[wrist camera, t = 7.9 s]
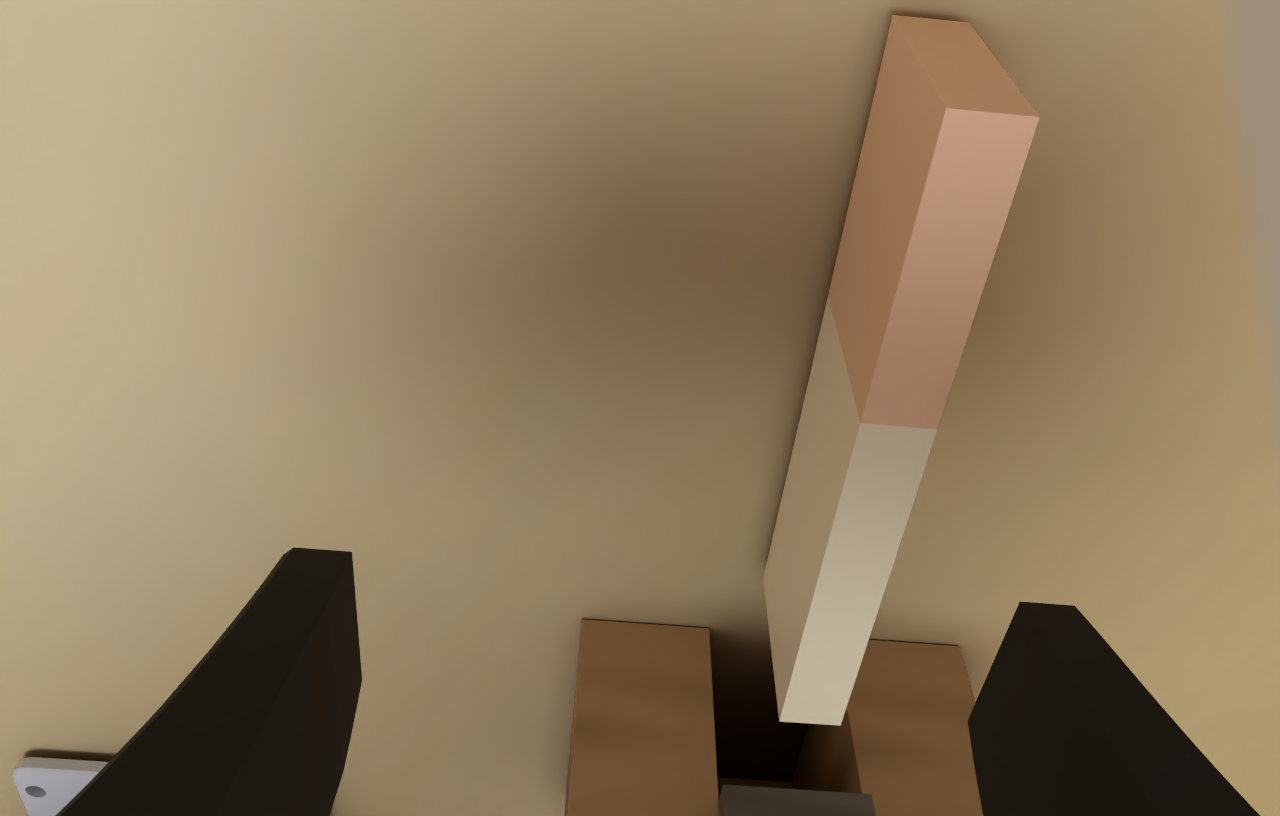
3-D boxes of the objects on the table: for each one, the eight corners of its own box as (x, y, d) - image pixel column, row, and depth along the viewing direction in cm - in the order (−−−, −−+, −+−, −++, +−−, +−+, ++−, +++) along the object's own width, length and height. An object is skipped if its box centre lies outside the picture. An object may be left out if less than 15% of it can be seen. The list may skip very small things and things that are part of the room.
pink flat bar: (816, 583, 24) (840, 725, 21) (763, 578, 24) (778, 721, 21) (968, 22, 17) (1039, 117, 14) (892, 14, 17) (946, 108, 14)
